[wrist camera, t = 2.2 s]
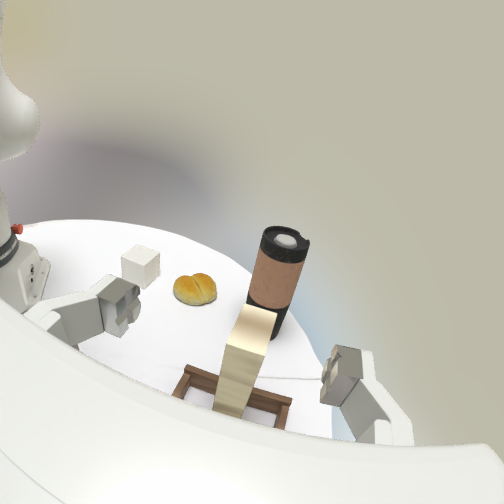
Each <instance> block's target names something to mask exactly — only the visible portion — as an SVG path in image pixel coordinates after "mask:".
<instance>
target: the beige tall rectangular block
mask: <svg viewBox="0 0 504 504" xmlns="http://www.w3.org/2000/svg"><path fill="white" fill-rule="evenodd" d="M276 317H277V313H274V312H271V311H268V310H264V309H261V308H258V307H255V306H252V305H248V304H245V303H244V305H243V308H242V310H241V312H240V314H239V316H238V319H237V321H236V323H235V325H234V327H233V330H232V332H231V334H230V336H229V338H228V341H227V343H226V347H225V351H224V356H223V361H222V366H221V370H220V375H219V380H218V385H217V390H216V394H215V399H214V404H213V409H212V410H213V411H216V412H219V413H222V414H225V415H228V416H232V417H235V418H238V419H241V416H242V414H243V411H244V409H245V406H246V404H247V401H248V399H249V396H250V394H251V391H252V388H253V386H254V383H255V381H256V378H257V376H258V373H259V370H260V368H261V365H262V362H263V360H264V357H265V354H266V351H267V347H268V344H269V341H270V337H271V334H272V330H273V327H274V324H275V320H276Z"/></svg>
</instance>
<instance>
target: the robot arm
mask: <svg viewBox="0 0 504 504" xmlns="http://www.w3.org/2000/svg"><path fill="white" fill-rule="evenodd" d="M4 7H5V0H0V162H4V161H7V160H10V159H12V158H15V157H17V156H20V155H22V154H25V153H27V152H28V151H29V150H30V148H31V147H32V145H33V144H34V142H35V140H36V138H37V135H38V132H39V127H40V116H39V111H38V108H37V106H36V104H35V103H34V101H33V100H32V99H31V98H30V97H28V96H26V95H24V94H23V93H21V92H20V91H19V90H17V89H16V88H15V87H14V86H13V84H12V83H11V82H10V80H9V79H8V77H7V75H6V74H5V71H4V68H3V65H2V59H1V32H2V22H3V15H4ZM22 228H23V227H22V225H21V224H19V225H16V224H14V225H13V227H10V221H9V215H8V209H7V202H6V197H5V195H4V193H3V192H2V190H1V189H0V504H504V463H503V462H502V460H501V459H500V458H499V457H498V456H497V454H496V453H495V452H494V451H493V450H492V449H491V448H490V447H489V446H488V445H487V444H485V443H473V444H463V445H446V446H414V439H413V431H412V423H411V421H410V420H409V418H408V417H407V416H406V415H405V413H404V412H403V411H402V410H401V408H400V407H399V406H398V405H397V403H396V402H395V401H394V400H393V398H392V397H391V396H390V395H389V393H388V392H387V391H386V390H385V388H384V387H383V386H382V385H381V384H380V383H379V382H376V375H375V367H374V360H373V353H372V352H371V351H366V350H361V349H355V348H350V347H345V346H341V345H335V346H334V348H333V350H332V354H331V358H329V359H328V360H327V361H326V363H325V366H324V369H323V372H322V379H321V381H322V383H323V384H324V385H323V387H322V388H321V392H320V403H323V404H327V405H332V406H337V407H340V410H341V412H342V414H343V416H344V418H345V420H346V422H347V424H348V425H349V427H350V429H351V431H352V433H353V435H354V437H355V439H356V441H355V442H350V441H343V440H335V439H329V438H322V437H316V436H311V435H305V434H300V433H295V432H290V431H286V430H281V429H277V428H272V427H268V426H264V425H260V424H256V423H253V422H249V421H245V420H242V419H238V418H235V417H232V416H228V415H225V414H222V413H219V412H216V411H213V410H210V409H207V408H204V407H201V406H198V405H195V404H192V403H190V402H187V401H184V400H182V399H179V398H176V397H174V396H171V395H169V394H166V393H164V392H161V391H159V390H157V389H154V388H152V387H150V386H147V385H145V384H143V383H141V382H138V381H136V380H134V379H132V378H130V377H128V376H126V375H124V374H121V373H119V372H117V371H115V370H113V369H111V368H109V367H108V366H106V365H104V364H102V363H100V362H98V361H96V360H94V359H92V358H91V357H89V356H87V355H85V354H83V353H82V352H80V351H78V350H76V349H75V348H73V347H71V346H73V345H75V344H78V343H80V342H82V341H85V340H87V339H89V338H92V337H94V336H96V335H98V334H101V333H103V332H104V331H105V332H107V333H110V334H112V335H114V336H116V337H119V338H121V337H122V335H123V334H124V333H125V332H126V331H127V330H128V324H130V323H133V322H135V320H136V319H137V318H138V315H139V313H140V309H141V302H140V300H139V299H138V296H139V294H140V287H139V286H138V285H136V284H134V283H131V282H129V281H126V280H124V279H121V278H118V277H116V276H113V275H111V274H109V275H106V276H105V277H104V278H103V279H101V280H100V281H99V282H98V283H96V284H95V285H94V286H93V287H92V288H90V289H89V290H88V291H87V292H86V291H80V292H76V293H72V294H68V295H64V296H59V297H55V298H51V299H47V300H43V301H41V297H42V293H43V289H44V286H45V282H46V279H47V275H48V272H49V269H50V262H49V261H48V260H47V259H45V258H43V257H40V256H39V254H38V251H37V249H36V247H35V246H33V245H32V244H29V243H26V242H23V241H20V240H18V239H17V237H16V235H15V234H22V232H23V231H22V230H23V229H22ZM26 310H28V311H27V312H26V313H24V314H23V315H22V314H21V313H23V312H24V311H26Z"/></svg>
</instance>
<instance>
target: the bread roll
mask: <svg viewBox="0 0 504 504" xmlns="http://www.w3.org/2000/svg"><path fill="white" fill-rule="evenodd" d="M173 291H174V294H175V296H176V297H177V298H178V299H179V300H180V301H182V302H184V303H186V304H189V305H202V304H204V303H209V302H211V301H213V300H214V299H215V298H216V297H217V291H216V285H215V282H214V281H213V279H212V278H211V277H210V276H208V275H206V274H203V273H197V274H194V275H193V276H191V277H190V276H181V277H179V278H178V279H177V280H176V281H175V283H174V287H173Z"/></svg>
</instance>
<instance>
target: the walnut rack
mask: <svg viewBox="0 0 504 504" xmlns="http://www.w3.org/2000/svg"><path fill="white" fill-rule="evenodd" d="M218 380H219V376H218V375H215V374H212V373H210V372H207V371H204V370H202V369H199V368H196V367H194V366H191V365H188V364H187V365H186V367H185V368H184V374H183V376H182V377H181V379H180V381H179V383H178V385H177V386H176V388H175V390H174V392H173V394H172V395H171V396H174V397H176V398H179V399H183V397H184V396H185V394H186V392H187V390H188V388H189V386H192V387H195V388H198V389H200V390H203V391H206V392H208V393H211V394H214V395H215V394H216V390H217V385H218ZM291 402H292V398H290V397H286V396H282V395H278V394H275V393H271V392H268V391H264V390H261V389H258V388H254V387H253V388H252V391H251V394H250V396H249V399H248V401H247V404H246V405H247V406H250V407H254V408H257V409H260V410H264V411H267V412H271V413H275V414H277V417H276V421H275V425H274V428H277V429H281V430H284V428H285V424H286V419H287V415H288V410H289V406H290V405H291Z"/></svg>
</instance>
